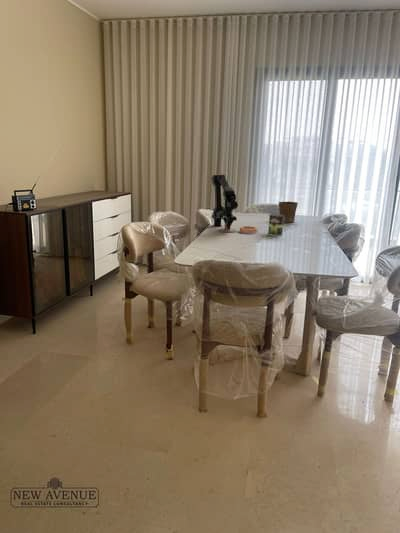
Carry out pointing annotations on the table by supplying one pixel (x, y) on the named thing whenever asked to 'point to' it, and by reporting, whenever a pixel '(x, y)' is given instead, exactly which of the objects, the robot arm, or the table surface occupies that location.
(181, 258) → the table surface
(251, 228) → the bowl
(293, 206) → the plant pot
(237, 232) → the mat
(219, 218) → the robot arm
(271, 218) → the coffee can
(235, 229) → the lid
